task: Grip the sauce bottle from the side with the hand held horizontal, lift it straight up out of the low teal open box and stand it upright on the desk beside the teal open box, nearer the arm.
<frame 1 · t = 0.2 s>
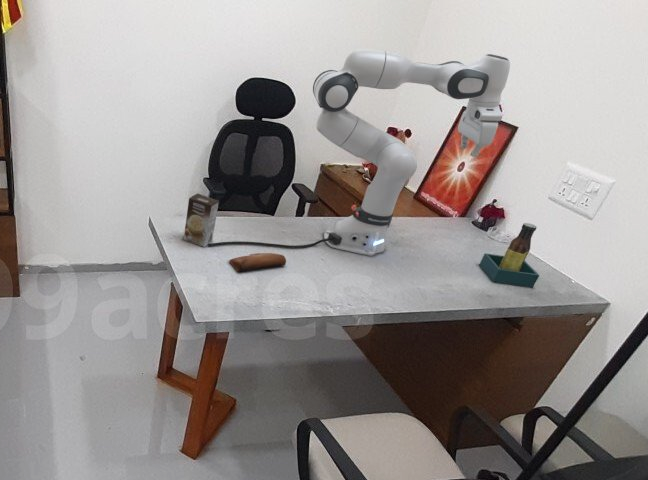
hand: (468, 152, 175), 39 cm above the table, tool pointing down, fingers open, 8 cm apart
coffee box: (197, 241, 186), on the table
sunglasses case: (256, 265, 175), on the table
sauce bottle: (504, 276, 186), resting in teal open box
teal open box: (505, 276, 185), on the table
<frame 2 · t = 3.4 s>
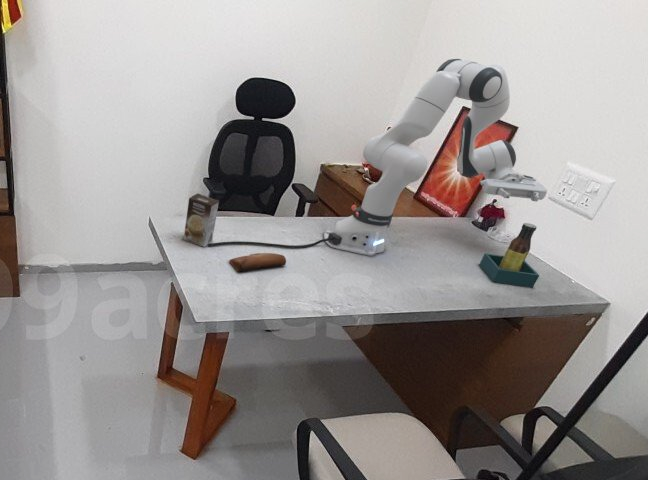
hand: (521, 197, 181), 25 cm above the table, tool horizontal, fingers open, 8 cm apart
nothing on the table moved.
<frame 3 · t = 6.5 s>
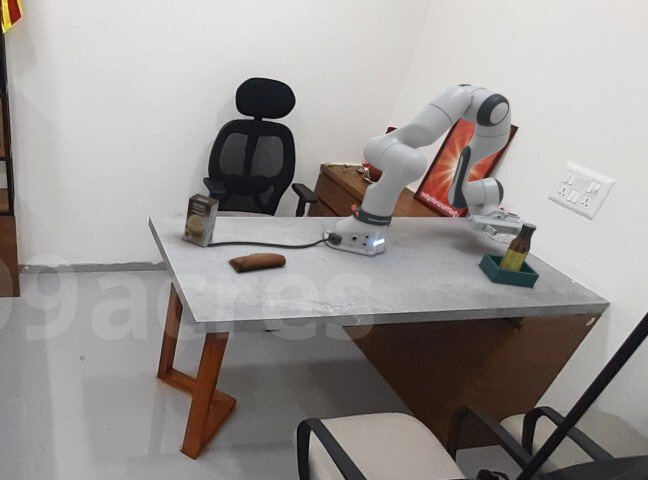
hand: (508, 234, 187), 12 cm above the table, tool horizontal, fingers open, 8 cm apart
nothing on the table moved.
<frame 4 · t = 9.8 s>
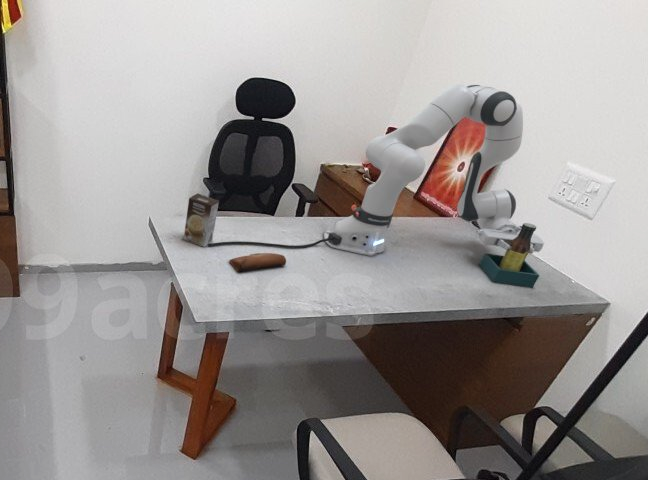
hand: (520, 250, 179), 11 cm above the table, tool horizontal, fingers closed on sauce bottle, 6 cm apart
sauce bottle: (504, 276, 186), resting in teal open box, touching gripper
everything else where it was.
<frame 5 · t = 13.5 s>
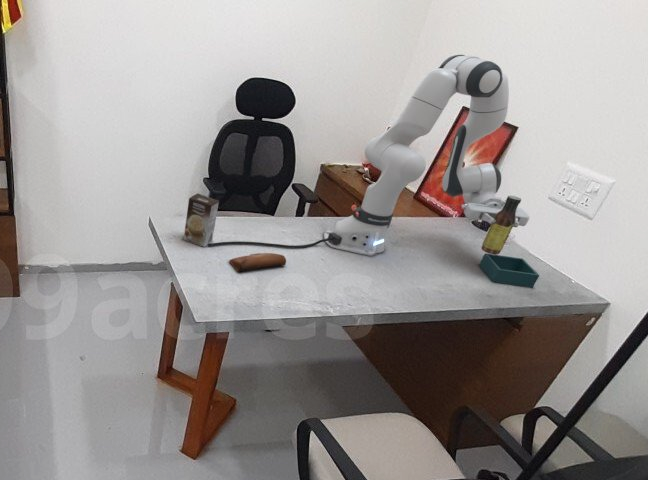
hand: (504, 223, 175), 20 cm above the table, tool horizontal, fingers closed on sauce bottle, 6 cm apart
sauce bottle: (489, 251, 181), point 8 cm above the table, touching gripper
everything else where it was.
when the fingers open (11 cm above the table, at t = 17.3 s): sauce bottle stays where it is, on the table.
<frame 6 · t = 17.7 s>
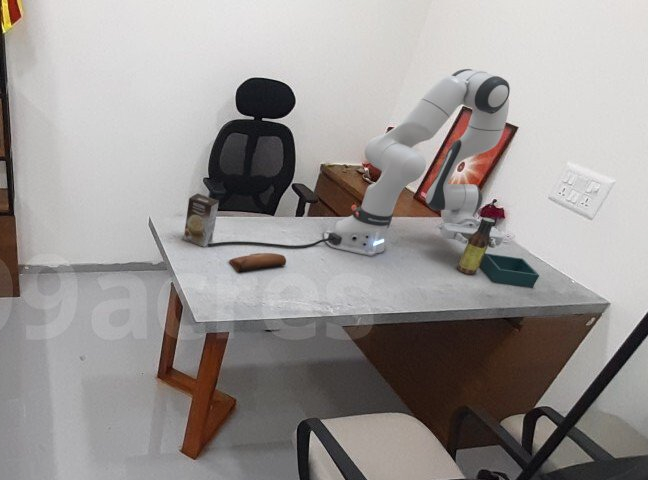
hand: (479, 243, 180), 11 cm above the table, tool horizontal, fingers open, 8 cm apart
sauce bottle: (465, 271, 186), on the table
everything else where it was.
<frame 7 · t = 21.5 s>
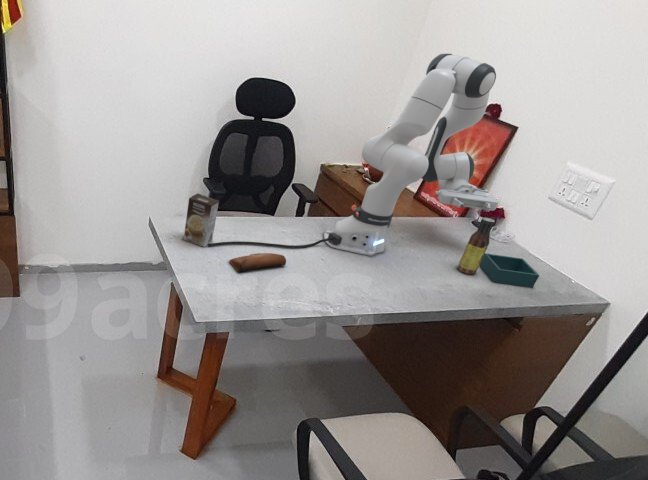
hand: (474, 207, 186), 19 cm above the table, tool horizontal, fingers open, 8 cm apart
nothing on the table moved.
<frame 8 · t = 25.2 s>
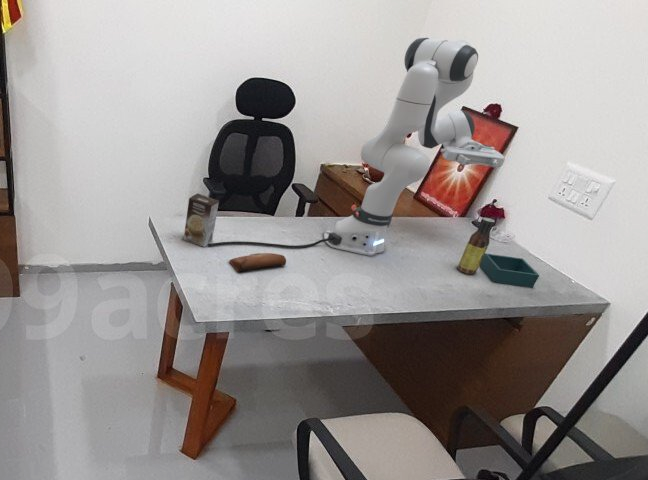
hand: (481, 163, 183), 34 cm above the table, tool horizontal, fingers open, 8 cm apart
nothing on the table moved.
at the end: sauce bottle inside the target area (0.1 cm from its centre), on the table; sauce bottle tilted 0°; the gripper is holding nothing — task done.
